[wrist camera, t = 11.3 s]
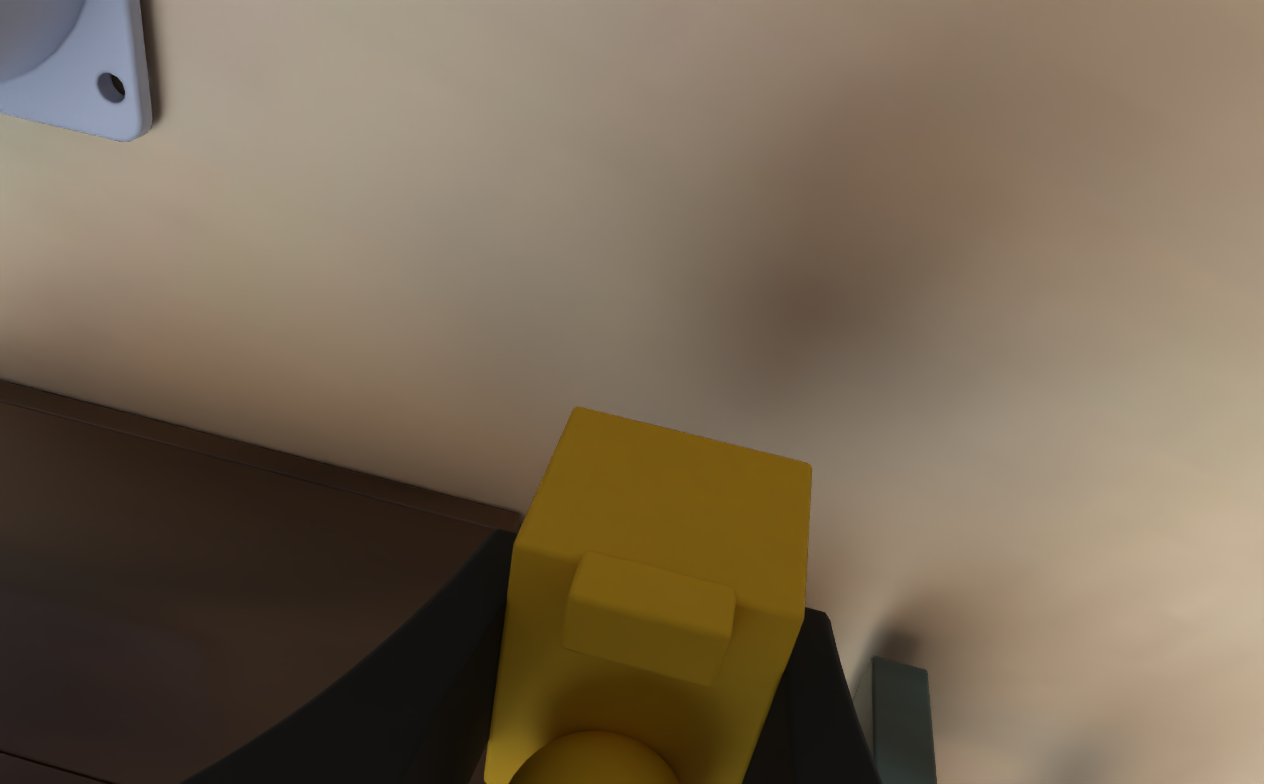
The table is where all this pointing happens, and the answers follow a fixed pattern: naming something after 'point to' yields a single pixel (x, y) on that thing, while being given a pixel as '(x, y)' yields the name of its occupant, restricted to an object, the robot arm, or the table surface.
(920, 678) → the drawer
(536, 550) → the duck
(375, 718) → the robot arm
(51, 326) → the table surface
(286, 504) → the cabinet
